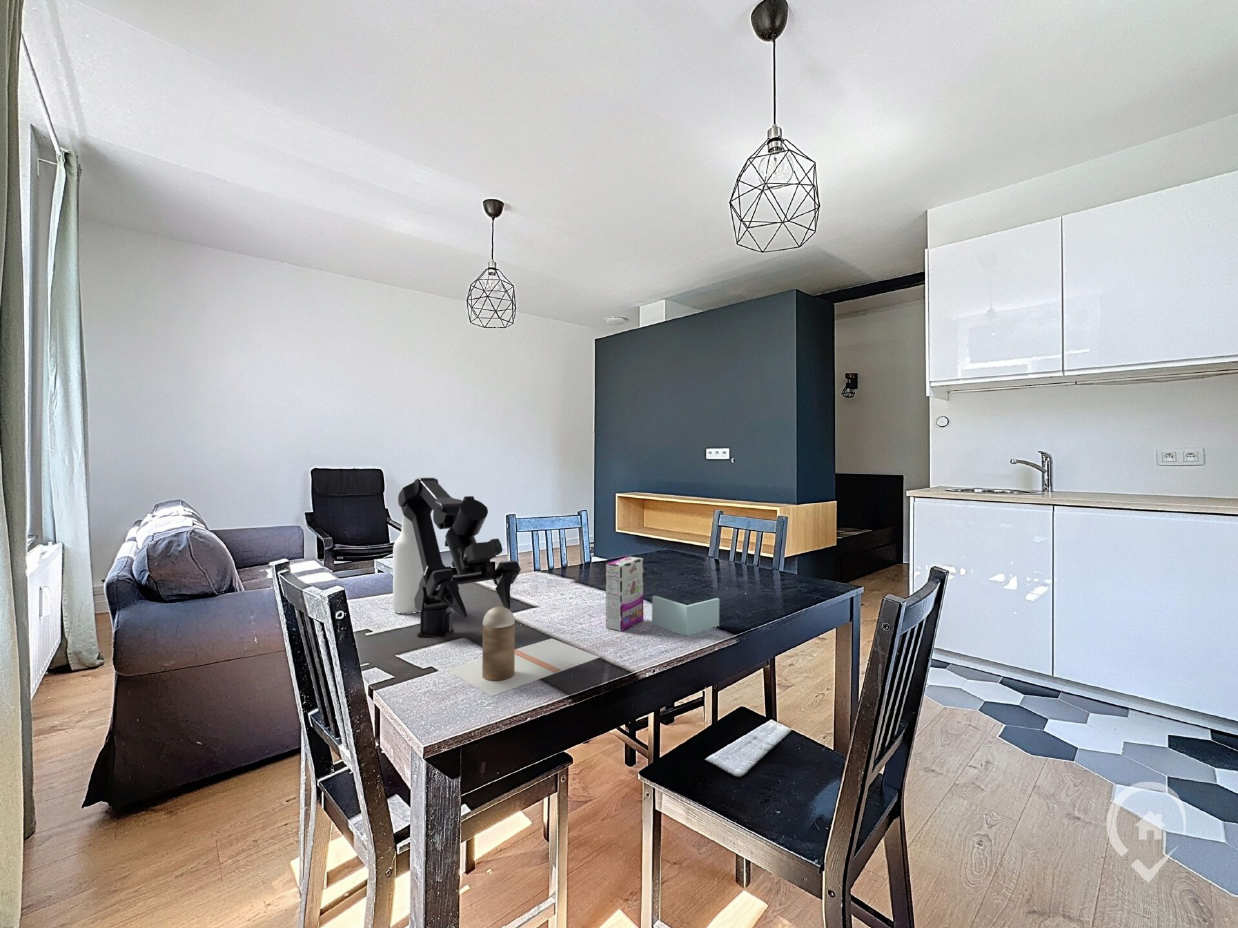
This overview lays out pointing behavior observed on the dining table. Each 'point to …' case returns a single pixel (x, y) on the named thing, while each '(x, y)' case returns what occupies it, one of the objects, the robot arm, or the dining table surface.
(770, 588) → the dining table surface
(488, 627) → the walnut pin
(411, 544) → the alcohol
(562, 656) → the mat
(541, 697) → the dining table surface
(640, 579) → the candy bar box
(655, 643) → the dining table surface
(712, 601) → the right angle wall
